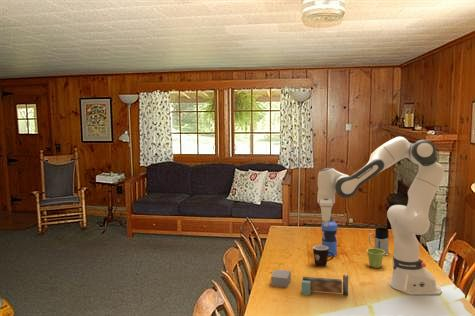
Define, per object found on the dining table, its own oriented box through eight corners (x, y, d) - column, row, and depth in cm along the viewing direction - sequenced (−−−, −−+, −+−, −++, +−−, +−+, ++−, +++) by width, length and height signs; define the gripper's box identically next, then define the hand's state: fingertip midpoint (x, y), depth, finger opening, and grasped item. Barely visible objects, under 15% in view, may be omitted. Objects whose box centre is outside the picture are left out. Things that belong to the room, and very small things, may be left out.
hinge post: (347, 293, 180) (348, 275, 179) (348, 296, 177) (348, 277, 176) (342, 293, 180) (342, 274, 179) (342, 295, 178) (343, 276, 177)
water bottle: (335, 251, 238) (336, 212, 235) (338, 257, 229) (338, 216, 226) (320, 251, 239) (320, 212, 236) (322, 256, 229) (322, 215, 227)
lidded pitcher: (392, 254, 231) (392, 230, 230) (373, 257, 226) (374, 233, 225) (382, 250, 240) (382, 226, 238) (363, 253, 234) (364, 229, 233)
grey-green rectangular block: (310, 293, 181) (310, 280, 180) (310, 295, 179) (310, 282, 178) (301, 292, 182) (301, 280, 181) (301, 294, 180) (301, 282, 179)
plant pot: (385, 269, 208) (386, 254, 207) (367, 268, 210) (367, 253, 209) (382, 263, 217) (383, 248, 216) (365, 262, 219) (365, 247, 218)
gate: (341, 291, 180) (341, 279, 179) (341, 293, 178) (342, 281, 177) (303, 288, 184) (303, 276, 183) (302, 290, 182) (302, 278, 181)
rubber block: (290, 280, 197) (290, 270, 196) (287, 288, 187) (287, 278, 187) (275, 278, 199) (275, 269, 198) (271, 286, 189) (271, 276, 189)
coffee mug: (309, 263, 219) (310, 246, 218) (322, 261, 222) (322, 244, 221) (321, 270, 208) (321, 252, 207) (334, 268, 211) (334, 250, 210)
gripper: (320, 195, 207) (320, 220, 208) (319, 203, 187) (319, 230, 189) (332, 195, 206) (332, 220, 207) (332, 203, 186) (332, 231, 187)
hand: (326, 225), depth 198 cm, fingers closed
